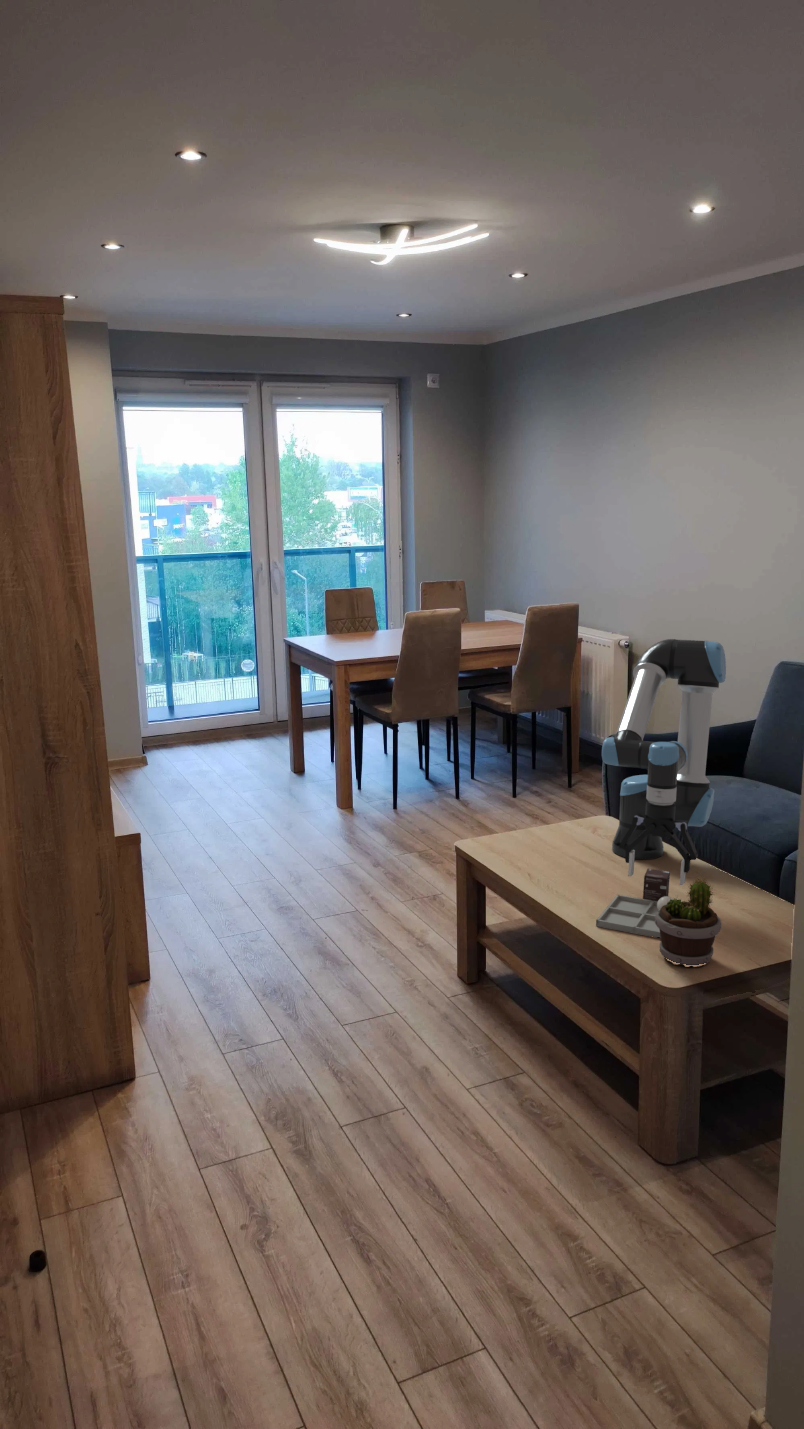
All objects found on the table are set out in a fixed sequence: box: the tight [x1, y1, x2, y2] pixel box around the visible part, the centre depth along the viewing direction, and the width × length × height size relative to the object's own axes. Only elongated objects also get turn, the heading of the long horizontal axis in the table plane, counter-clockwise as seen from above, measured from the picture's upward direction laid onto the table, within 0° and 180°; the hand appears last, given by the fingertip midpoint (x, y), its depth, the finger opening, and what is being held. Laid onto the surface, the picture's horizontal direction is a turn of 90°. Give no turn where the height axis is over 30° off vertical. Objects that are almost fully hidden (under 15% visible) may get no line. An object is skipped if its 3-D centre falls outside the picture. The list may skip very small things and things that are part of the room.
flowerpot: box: [655, 875, 722, 965], centre depth 231 cm, size 14×15×20 cm
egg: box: [657, 895, 674, 911], centre depth 257 cm, size 5×5×5 cm
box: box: [642, 868, 671, 902], centre depth 268 cm, size 6×6×7 cm
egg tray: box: [595, 893, 661, 939], centre depth 255 cm, size 19×19×2 cm
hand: (656, 879), depth 267 cm, fingers open, 13 cm apart
